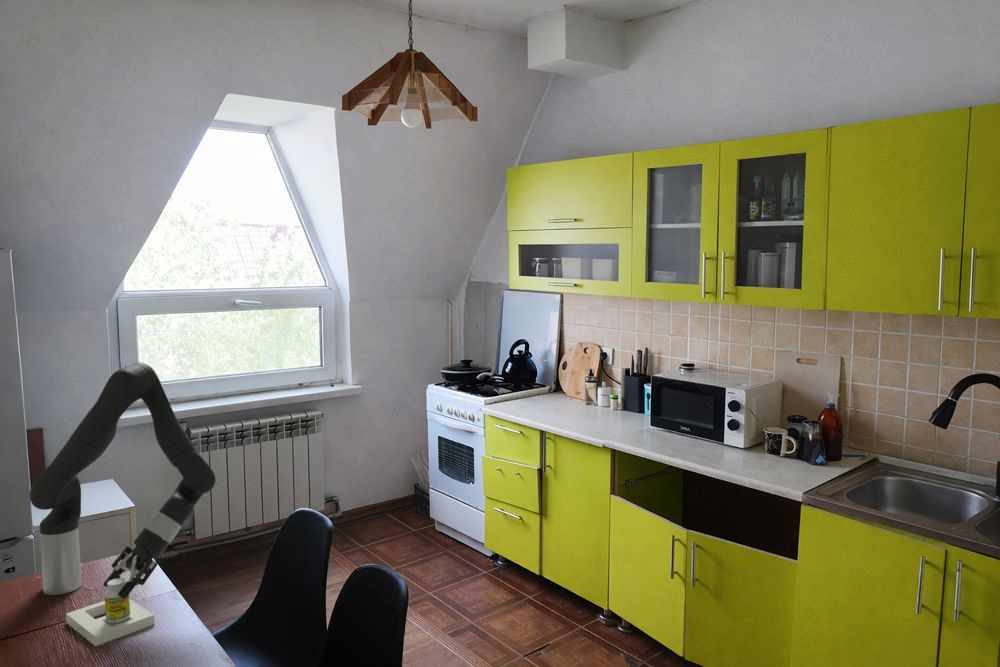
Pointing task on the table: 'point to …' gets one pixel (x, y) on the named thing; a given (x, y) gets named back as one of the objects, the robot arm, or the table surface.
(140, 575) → the robot arm
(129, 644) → the table surface
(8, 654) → the table surface
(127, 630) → the socket dock
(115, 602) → the supplement bottle
